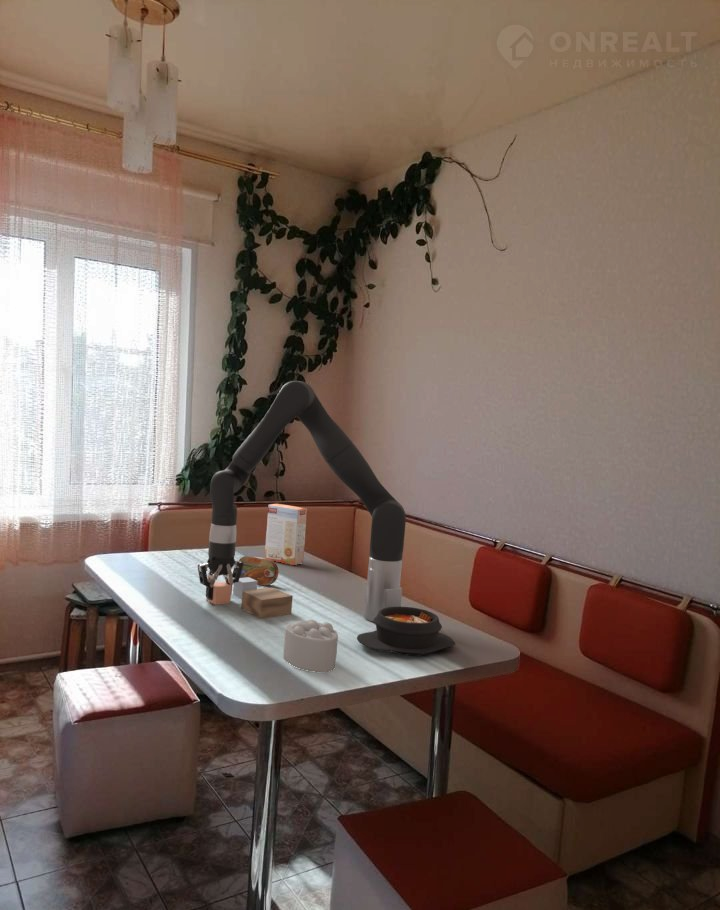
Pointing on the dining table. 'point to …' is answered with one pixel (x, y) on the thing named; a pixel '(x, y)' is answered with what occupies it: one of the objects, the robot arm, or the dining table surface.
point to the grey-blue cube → (244, 586)
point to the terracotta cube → (221, 593)
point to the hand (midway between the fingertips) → (218, 598)
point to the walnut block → (266, 602)
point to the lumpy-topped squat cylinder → (311, 646)
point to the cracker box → (285, 534)
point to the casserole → (406, 632)
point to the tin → (259, 570)
